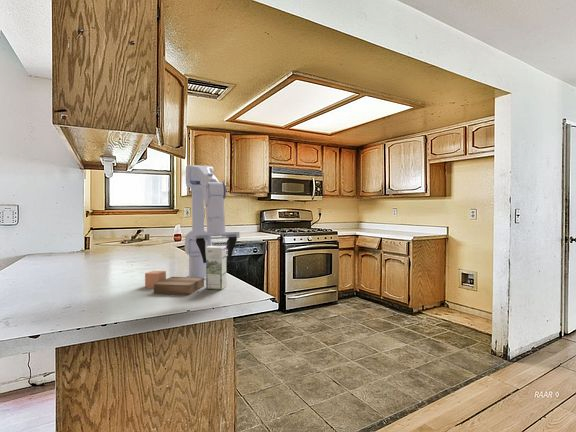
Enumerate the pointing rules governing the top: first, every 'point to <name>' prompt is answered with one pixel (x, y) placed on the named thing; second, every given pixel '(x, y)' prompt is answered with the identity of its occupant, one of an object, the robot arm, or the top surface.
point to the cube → (154, 278)
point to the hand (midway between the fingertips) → (217, 262)
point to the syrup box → (216, 267)
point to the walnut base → (179, 285)
